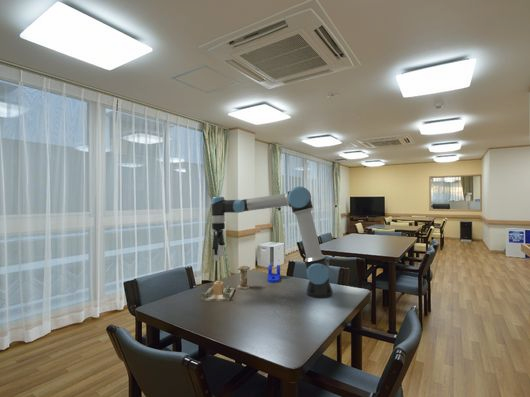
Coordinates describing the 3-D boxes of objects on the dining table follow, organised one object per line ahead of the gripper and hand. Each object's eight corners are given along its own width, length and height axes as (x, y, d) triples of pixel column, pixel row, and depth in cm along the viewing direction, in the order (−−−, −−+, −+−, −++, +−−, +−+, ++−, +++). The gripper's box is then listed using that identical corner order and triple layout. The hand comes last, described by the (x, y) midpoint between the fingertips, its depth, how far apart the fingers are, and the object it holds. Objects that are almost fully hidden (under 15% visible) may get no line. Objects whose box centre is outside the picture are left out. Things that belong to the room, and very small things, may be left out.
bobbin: (250, 285, 188) (250, 266, 188) (249, 289, 180) (249, 268, 180) (238, 285, 188) (238, 266, 188) (236, 289, 180) (236, 268, 180)
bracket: (269, 276, 213) (269, 264, 213) (280, 276, 212) (280, 264, 212) (266, 283, 195) (266, 269, 195) (278, 283, 194) (278, 270, 194)
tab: (223, 291, 172) (223, 280, 172) (221, 294, 167) (221, 282, 167) (215, 291, 172) (215, 280, 173) (213, 294, 167) (213, 282, 168)
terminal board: (234, 289, 179) (234, 284, 179) (229, 300, 159) (229, 294, 159) (209, 289, 180) (209, 283, 180) (201, 300, 160) (201, 294, 160)
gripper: (216, 221, 183) (217, 254, 183) (206, 224, 158) (207, 262, 158) (228, 221, 183) (228, 254, 182) (220, 224, 158) (220, 262, 157)
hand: (218, 258), depth 170 cm, fingers open, 13 cm apart
